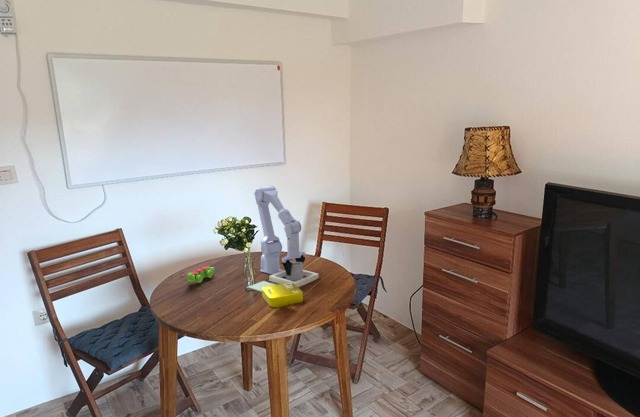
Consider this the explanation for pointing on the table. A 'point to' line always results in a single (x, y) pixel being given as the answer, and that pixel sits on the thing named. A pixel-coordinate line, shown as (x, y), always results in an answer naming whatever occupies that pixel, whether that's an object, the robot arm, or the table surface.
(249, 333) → the table surface
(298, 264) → the medicine box
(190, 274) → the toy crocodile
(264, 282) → the mat
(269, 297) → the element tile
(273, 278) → the white square frame
